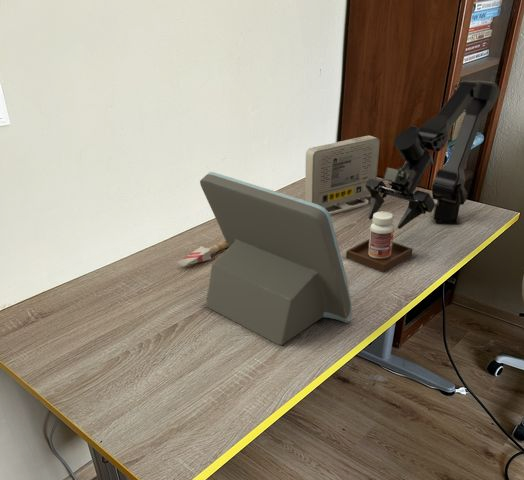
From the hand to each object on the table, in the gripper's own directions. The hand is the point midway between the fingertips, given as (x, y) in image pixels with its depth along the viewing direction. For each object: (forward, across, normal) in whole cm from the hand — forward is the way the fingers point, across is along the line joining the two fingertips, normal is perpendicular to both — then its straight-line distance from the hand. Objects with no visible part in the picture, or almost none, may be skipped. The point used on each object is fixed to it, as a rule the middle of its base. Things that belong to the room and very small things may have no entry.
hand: (383, 223), depth 146 cm
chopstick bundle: (+30, -35, -16) cm, 49 cm away
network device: (-8, -31, +22) cm, 39 cm away
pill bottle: (+7, 0, +6) cm, 9 cm away
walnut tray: (+7, 0, +6) cm, 10 cm away
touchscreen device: (+35, -2, -22) cm, 41 cm away
